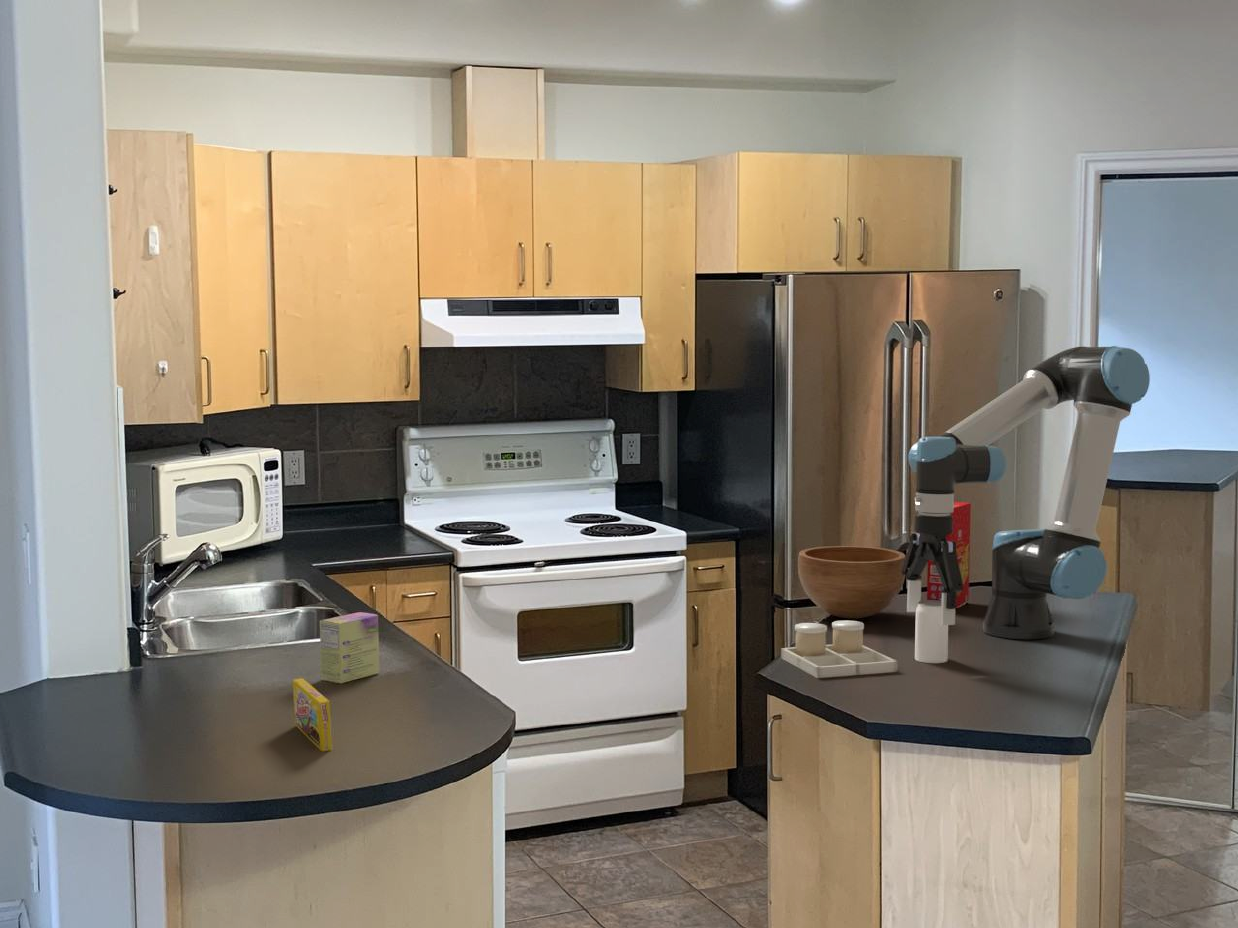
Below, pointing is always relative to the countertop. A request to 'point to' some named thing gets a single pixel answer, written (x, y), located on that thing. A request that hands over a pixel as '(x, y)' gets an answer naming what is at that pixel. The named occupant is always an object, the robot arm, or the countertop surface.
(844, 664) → the carrier
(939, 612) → the can
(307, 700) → the candy box
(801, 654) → the paper cup
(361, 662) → the box
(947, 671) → the countertop surface
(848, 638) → the paper cup
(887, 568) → the bowl
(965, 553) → the food packaging
